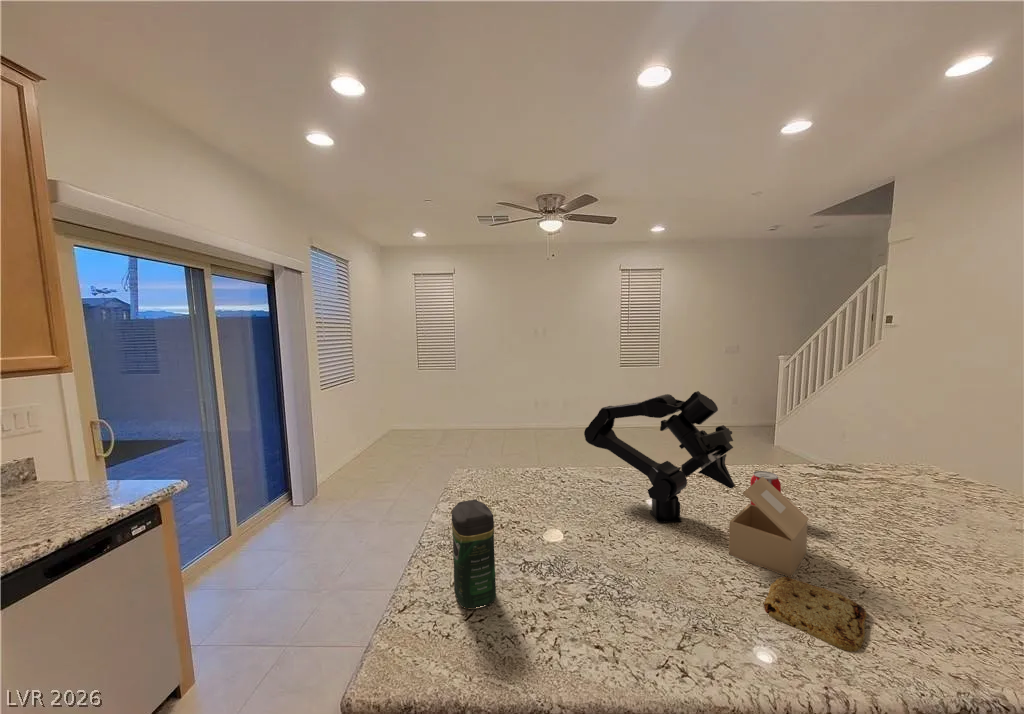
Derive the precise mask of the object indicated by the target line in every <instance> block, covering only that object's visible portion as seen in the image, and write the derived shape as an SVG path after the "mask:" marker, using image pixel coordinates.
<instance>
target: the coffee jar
mask: <svg viewBox="0 0 1024 714" xmlns="http://www.w3.org/2000/svg"><path fill="white" fill-rule="evenodd" d="M451 530H452V549H453V550H452V552H453V553H452V554H453V555H452V557H453V587H454V589H453V590H454V593H455V597H456V599H457V601H458V603H459V605H460V606H461V607H462V606H463V607H465V608H476V607H480V606H484V605H487V606H488V604H489V605H490V603H491V604H492V603H493V602H494V601H495V600H496V597H497V586H496V585H497V582H496V567H495V566H496V563H495V562H496V561H495V559H496V558H495V521H494V514H493V512H492V510H491V509H490V508H489V507H488V506H487V505H486V504H485V503H483V502H482V501H480V500H478V499H469V500H464V501H459V502H457V504H456V505H455V506H454V507H453V508H452V510H451ZM463 607H462V608H463ZM465 608H464V609H465Z"/></svg>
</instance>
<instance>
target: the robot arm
mask: <svg viewBox="0 0 1024 714" xmlns="http://www.w3.org/2000/svg"><path fill="white" fill-rule="evenodd" d="M718 411H719V408H718V405H717V404H716V402H715V401H714V400H713V399H711V398H709V397H708V396H707V395H705V394H702V392H700V391H699V390H697V391H695V392H693V393H692V394H691V395H690V396H689V398H687V399H686V400H685V401H684V400H680V399H676V397H674V396H673V395H672V394H668V393H667V394H662V395H659V396H654V397H652V398H648V399H646V400H643V401H640V402H638V401H637V402H631V403H625V404H619V405H617V404H616V405H607V406H604V407H602V408H600V409H599V411H598V412H597V414H596V416H595V417H594V418H593V419H592V420H591V422H590V423H589V424H588V426H587V427H586V428H585V429H584V431H583V434H584V439H585V442H586V443H587V444H588V445H591V446H593V447H596V448H599V449H604V450H607V451H609V452H610V453H612V454H613V455H615V456H617V457H618V458H619V459H621V460H623V462H626V463H627V464H629V465H630V466H631V467H632V468H634V469H636V470H637V471H639V472H640V473H642V474H643V475H645V476H646V477H647V478H648V480H649V482H650V483H651V485H652V486H651V487H649V488H648V489H647V493H648V496H649V498H650V499H651V510H649V513H650V514H651V516H652V517H653V518H654V520H655V521H656V522H657V523H660V524H661V523H682V519H681V518H680V517H681V502H680V501H679V496H678V495H679V494H681V492H682V490H684V489H686V488H687V485H688V479H687V478H688V477H690V476H691V475H692V474H693V473H694V472H696V471H697V470H698V469H701V470H699V471H698V474H700V475H704V476H706V477H708V478H710V479H712V480H713V481H716V482H717V483H719V484H721V485H723V486H725V487H726V488H729V489H733V488H734V487H735V486H736V485H735V483H734V481H733V479H732V477H731V476H732V475H730V472H729V470H728V468H727V465H726V457H727V454H726V453H728V452H730V451H731V450H732V449H733V448H734V446H733V445H732V443H730V442H733V441H734V439H733V437H732V434H733V431H732V430H730V428H728V427H726V426H725V425H724V424H723V425H718V426H716V427H715V431H713V432H710V433H707V431H705V430H704V429H702V430H699V429H698V427H696V425H700V426H701V425H702V424H703V423H705V422H706V421H707V420H708V419H709V418H710V417H712V416H713V415H715V413H717V412H718ZM678 412H680V413H678ZM675 413H678V414H675ZM640 416H641V417H642V416H643V417H648V418H656V419H662V418H665V417H667V416H670V417H669V418H668V419H662V420H661V421H660V427H659V431H660V432H663V431H666V430H669V431H670V432H671V434H672V435H673V436H674V437H675V439H676V440H677V441H678V442H679V443H680V444H679V446H678V447H679V449H680V450H683V449H685V450H686V452H688V454H689V455H690V457H691V458H689V459H688V460H687V461H685V462H684V463H683V464H682V465H681V467H679V466H676V465H674V464H673V463H672V462H670V461H669V460H665V461H664V462H661V463H659V462H657V461H656V460H654V459H652V458H650V457H649V456H647V455H645V454H644V453H643V452H641V451H639V450H638V449H637V448H635V447H633V446H632V445H630V444H628V443H627V442H625V441H624V440H622V439H620V438H619V437H618V436H617V435H616V432H615V431H614V430H613V428H614V425H615V420H616V419H621V418H631V417H632V418H633V417H640ZM695 424H696V425H695Z"/></svg>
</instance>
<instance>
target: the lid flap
mask: <svg viewBox="0 0 1024 714" xmlns="http://www.w3.org/2000/svg"><path fill="white" fill-rule="evenodd" d="M742 494H743V495H744V496H745V497H746V498H747V499H749V501H750V500H751V501H752V502H753V503H754V504H755V505H756V506H757V507H758V508H759V509H760V510H761V511H762V512H763V513H764V514H765V515H766V516H767V517H768V518H769V519H770V520H771V521H772V522H773V523H774V524H775V525H776V526H777V527H778V528H779V529H780V530H781V531H783V532H784V533H785V534H786V535H787V536H788V537H789V538H790V539H791V540H793V539H794V538H795V537H796V536H797V534H798V533H799V532H800V530H801V529H802V528H803V526H804V525H805V524H806V522H807V523H808V521H809V520H810V518H809V517H808V516H806V515H805V513H804V512H802V511H801V510H800V509H799V508H798V507H797V506H796V505H795V504H793V503H792V502H791V501H790V500H789V499H788V498H787V497H786V496H785V495H784V494H783V493H782V492H781V493H780V492H779V491H778V490H777V489H776V488H775V487H774V486H773V485H771V484H770V483H769V482H768V481H767V480H766V479H765V478H764V477H763V476H762V477H761V478H760V479H759V480H758V481H756V482H755V483H754V484H753V485H751V486H749V487H748V488H746V489H745V490H744V491H743V492H742Z"/></svg>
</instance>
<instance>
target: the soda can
mask: <svg viewBox="0 0 1024 714" xmlns="http://www.w3.org/2000/svg"><path fill="white" fill-rule="evenodd" d="M762 476H763V477H764V478H765V479H766V480H767V481H768V482H769V483H770V484H771V485H773V486H774V487H775V488H776V489H777V490H778V491H779V492H780V493H781V494H782V484H781V481H780V479H779V476H778V475H777V474H776V473H774V472H770V471H767V470H765V471H764V470H755V471H753V474H752V476H751V478H750V483H749V484H750V486H751V485H753V484H754V483H755V482H756V481H758V480H759V479H760V478H761V477H762ZM750 486H749V487H750ZM749 504H751V505H755V504H754V503H753V502H752V501H751V500H750V499H749ZM755 506H756V505H755Z"/></svg>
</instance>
